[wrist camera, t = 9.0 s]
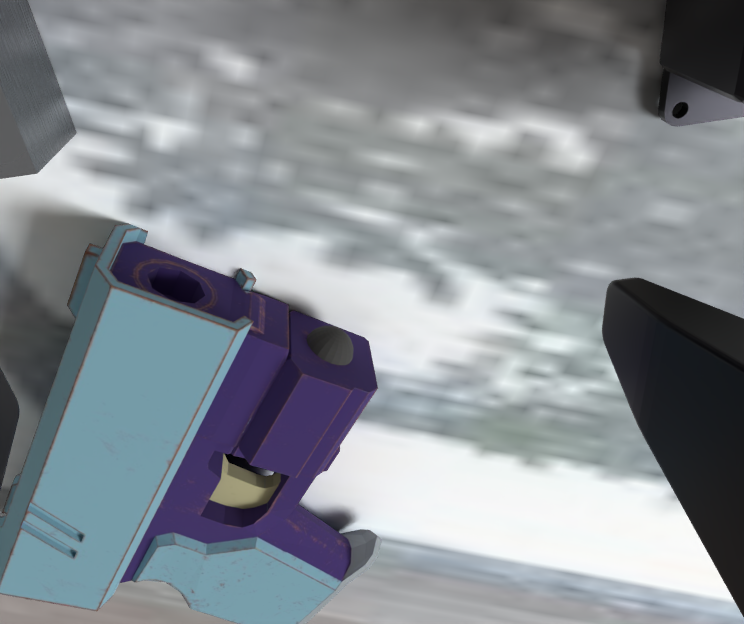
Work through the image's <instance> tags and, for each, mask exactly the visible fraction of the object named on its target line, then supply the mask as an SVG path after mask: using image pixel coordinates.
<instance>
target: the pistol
mask: <svg viewBox="0 0 744 624" xmlns="http://www.w3.org/2000/svg"><path fill="white" fill-rule="evenodd" d="M147 233H148V231H146V230H143V229H141V228H138V227H136V226H133V225H131V224H122V225H115V226H114V228H113V230H112V232H111V234H110V236H109V238H108V240H107V242H106V244H105V246H104V248H101V247H98V246H96V245H93V244H89V246H88V247H87V249H86V251H85V254H84V257H83V260H82V262H81V265H80V268H79V271H78V274H77V277H76V280H75V283H74V286H73V289H72V292H71V295H70V298H69V300H68V303H67V306H68V307H69V309H70V310H71V312H72V314H73V315H74V317H75V318H76V320H75V322H74V325H73V328H72V331H71V334H70V336H69V339H68V342H67V345H66V348H65V351H64V353H63V356H62V359H61V362H60V365H59V368H58V370H57V373H56V376H55V379H54V382H53V384H52V387H51V390H50V393H49V396H48V399H47V401H46V404H45V407H44V410H43V413H42V416H41V418H40V421H39V424H38V427H37V430H36V432H35V435H34V438H33V441H32V444H31V447H30V449H29V452H28V455H27V458H26V461H25V464H24V466H23V469H22V472H21V475H16V477H15V479H14V481H13V484H12V486H11V489H10V492H9V495H8V497H7V500H6V503H5V506H4V509H3V512H2V513H6V516H2V517H0V594H2V595H8V596H13V597H19V598H25V599H30V600H36V601H42V602H47V603H53V604H59V605H64V606H70V607H76V608H81V609H87V610H93V611H98V610H99V609H100V608H101V607H102V606H103V605H104V604H105V603H106V602H107V601H108V600H109V599H110V598H111V597H112V596H113V594H114V592H115V591H116V589H117V587H118V585H119V583H122V582H127V581H131V580H132V581H134V582H139V581H144V580H145V581H159V582H166V583H167V584H169V585H170V586H172V587H173V588H175V589H176V590H178V591H179V592H181V594H182V596H183V597H184V599H185V601H186V602H187V604H188V606H189V607H190V608H191V609H193V610H196V611H199V612H203V613H206V614H209V615H212V616H215V617H218V618H221V619H225V620H228V621H231V622H234V623H237V624H306V623H308V622H309V621H310V620H311V619H312V618H313V617H314V616H315V615H316V614H317V613H318V612H319V611H320V610H321V609H322V608H323V607H324V606H325V605H326V604H327V603H328V602H329V601H331V600H332V599H333V598H334V597H335V596H336V595H337V594H338V593H339V592H340V591H341V590H342V589H343V588H344V587H345V586H346V585H347V584H348V583H350V582H351V581H353V580H354V579H355V578H357V577H358V576H360V575H361V574H362V573H364V572H365V571H367V570H368V569H369V568H370V567H371V565H372V564H373V563H374V561H375V560H376V559H377V557H378V554H379V549H380V545H381V541H382V539H381V538H380V537H378V536H377V535H376V534H374V533H373V532H372V531H370V530H356V531H351V532H346V533H341V534H340V533H339V532H337V531H336V530H334V529H333V528H332V527H330V526H329V525H327V524H326V523H325V522H323V521H322V520H320V519H319V518H317V517H316V516H314V515H313V514H312V513H310V512H309V511H307V510H306V509H304V508H303V507H302V506H300V505H299V504H298V503H299V501H300V500H301V498H302V497H303V495H304V494H305V492H306V491H307V489H308V488H309V486H310V485H311V483H312V482H313V480H314V479H315V477H316V476H317V475H319V474H320V473H322V472H323V471H327V470H328V468H329V467H330V465H331V464H332V462H333V461H334V459H335V458H336V456H337V455H338V453H339V452H340V444H341V443H342V441H343V440H344V438H345V437H346V435H347V434H348V432H349V431H350V429H351V428H352V426H353V425H354V423H355V422H356V420H357V419H358V417H359V416H360V414H361V413H362V411H363V410H364V408H365V407H366V405H367V404H368V402H369V401H370V399H371V398H372V396H373V395H374V393H375V392H376V390H377V389H378V387H377V382H376V376H375V371H374V366H373V361H372V356H371V351H370V346H369V341H367V340H366V339H365V338H364V337H362V336H359V335H356V334H354V333H351V332H349V331H346V330H343V329H341V328H338V327H336V326H333V325H331V324H328V323H325V322H323V321H320V320H318V319H315V318H312V317H310V316H307V315H305V314H302V313H300V312H297V311H294V310H293V311H291V312H290V313H289V304H286V303H283V302H281V301H278V300H275V299H273V298H270V297H267V296H264V295H261V294H258V293H255V292H251V290H252V288H253V286H254V284H255V282H256V278H255V277H254V275H253V274H252V273H251V272H249V271H246V270H244V269H240V271H239V273H238V275H237V277H236V279H233V278H231V277H228V276H225V275H223V274H220V273H217V272H215V271H212V270H209V269H207V268H204V267H201V266H199V265H196V264H193V263H191V262H188V261H185V260H183V259H180V258H178V257H175V256H172V255H170V254H167V253H165V252H162V251H160V250H157V249H155V248H152V247H149V246H147V245H144V243H145V239H146V236H147ZM224 453H225V454H230V453H231V454H232V455H233V456H237V457H241V458H245V459H246V460H247V462H248V463H249V465H251V466H255V467H259V468H262V469H266V470H269V471H273V472H274V473H273V475H269V476H262V475H258V474H255V473H253V472H250V471H248V470H245V469H243V468H241V467H238V466H236V465H233V464H231V463H229V462H228V460H227V458H226V456H225V454H224Z"/></svg>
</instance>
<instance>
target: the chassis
mask: <svg viewBox="0 0 744 624" xmlns="http://www.w3.org/2000/svg"><path fill="white" fill-rule="evenodd" d="M75 134H76V130H75V128H74V125H73V122H72V120H71V117H70V114H69V111H68V109H67V106H66V103H65V101H64V98H63V95H62V93H61V90H60V87H59V84H58V82H57V79H56V76H55V74H54V71H53V68H52V66H51V63H50V60H49V58H48V55H47V52H46V49H45V47H44V44H43V41H42V39H41V36H40V33H39V31H38V28H37V25H36V23H35V20H34V17H33V14H32V12H31V9H30V6H29V4H28V1H27V0H0V179H3V178H9V177H16V176H23V175H30V174H37V173H38V172H39V171H40V170H41V169H42V168H43V167H44V166H45V165H46V164H47V163H48V162H49V161H50V160H51V159H52V158H53V157H54V156H55V155H56V154H57V153H58V152H59V151H60V150H61V149H62V148H63V147H64V146H65V145H66V144H67V143H68V142H69V140H70V139H71V138H72V137H73V136H74V135H75Z"/></svg>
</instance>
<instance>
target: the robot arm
mask: <svg viewBox="0 0 744 624" xmlns="http://www.w3.org/2000/svg"><path fill="white" fill-rule="evenodd" d="M660 64H661V65H662V66H663V67H664V69H663V77H662V85H661V93H660V101H659V108H658V111H659V116H660V118H661V120H663V121H665V122H666V123H668V124H670V125H671V126H683V125H690V124H697V123H704V122H711V121H718V120H724V119H731V118H738V117H744V0H667V5H666V13H665V21H664V29H663V37H662V45H661V53H660ZM680 102H682V107H681V110H680V111H679V112H678V113H677V114H674V115H673V114H672V111H673V108H674V106H675V105H676V104H677V103H680ZM602 335H603V340H604V344H605V346H606V349H607V351H608V354H609V356H610V359H611V361H612V364H613V366H614V369H615V371H616V374H617V376H618V379H619V381H620V383H621V386H622V388H623V391H624V393H625V396H626V398H627V401H628V403H629V406H630V408H631V411H632V413H633V415H634V418H635V420H636V422H637V425H638V427H639V428H640V430H641V432H642V434H643V436H644V438H645V440H646V442H647V444H648V445H649V447H650V449H651V451H652V453H653V454H654V456H655V458H656V460H657V462H658V463H659V465H660V467H661V469H662V471H663V473H664V474H665V476H666V478H667V480H668V482H669V483H670V485H671V487H672V489H673V491H674V492H675V494H676V496H677V498H678V500H679V501H680V503H681V505H682V507H683V509H684V510H685V512H686V514H687V516H688V518H689V519H690V521H691V523H692V525H693V527H694V529H695V530H696V532H697V534H698V536H699V538H700V539H701V541H702V543H703V545H704V547H705V548H706V550H707V552H708V554H709V556H710V557H711V559H712V561H713V563H714V565H715V566H716V568H717V570H718V572H719V574H720V575H721V577H722V579H723V581H724V583H725V584H726V586H727V588H728V590H729V592H730V594H731V595H732V597H733V599H734V601H735V603H736V604H737V606H738V608H739V610H740V612H741V613H742V615H743V617H744V319H743V318H741V317H738V316H735V315H733V314H730V313H728V312H725V311H723V310H720V309H718V308H715V307H713V306H710V305H707V304H705V303H702V302H700V301H697V300H695V299H692V298H690V297H687V296H685V295H682V294H680V293H677V292H674V291H672V290H669V289H667V288H664V287H662V286H659V285H657V284H654V283H652V282H649V281H646V280H644V279H641V278H628V279H620V280H614V281H612V282H611V283H610V284H609V286H608V288H607V292H606V300H605V308H604V316H603V324H602ZM18 418H19V405H18V401H17V399H16V397H15V395H14V393H13V391H12V389H11V387H10V385H9V383H8V381H7V380H6V378H5V376H4V374H3V372H2V370H1V368H0V490H1V486H2V482H3V478H4V474H5V470H6V466H7V462H8V458H9V454H10V450H11V446H12V442H13V438H14V434H15V430H16V426H17V422H18Z"/></svg>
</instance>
